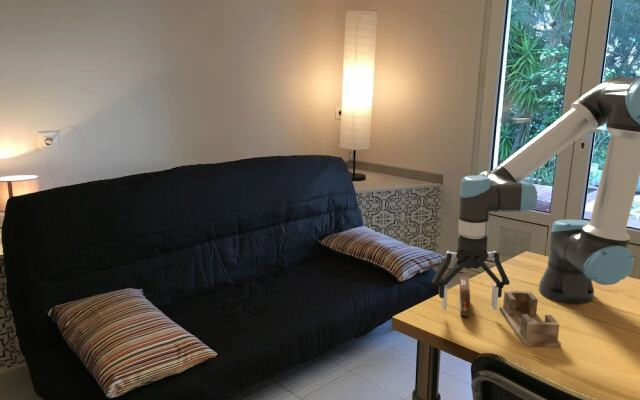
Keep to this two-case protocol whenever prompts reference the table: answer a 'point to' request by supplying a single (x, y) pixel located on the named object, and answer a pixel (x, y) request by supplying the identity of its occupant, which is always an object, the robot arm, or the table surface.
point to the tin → (464, 296)
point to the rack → (529, 320)
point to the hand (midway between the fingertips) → (469, 308)
